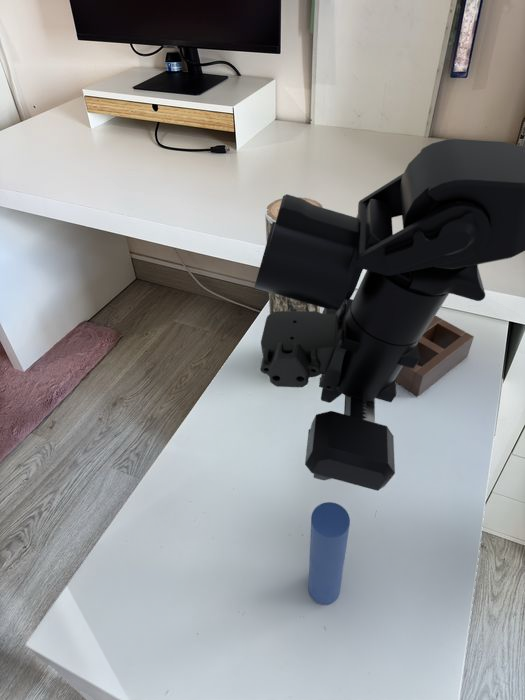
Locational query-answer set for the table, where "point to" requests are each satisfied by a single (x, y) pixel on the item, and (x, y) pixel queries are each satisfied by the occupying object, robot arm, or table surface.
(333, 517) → the peg
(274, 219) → the paper tube
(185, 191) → the table surface
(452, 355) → the rack
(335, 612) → the table surface
